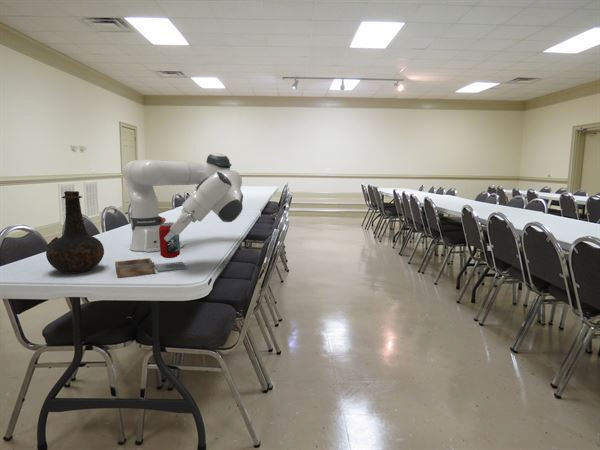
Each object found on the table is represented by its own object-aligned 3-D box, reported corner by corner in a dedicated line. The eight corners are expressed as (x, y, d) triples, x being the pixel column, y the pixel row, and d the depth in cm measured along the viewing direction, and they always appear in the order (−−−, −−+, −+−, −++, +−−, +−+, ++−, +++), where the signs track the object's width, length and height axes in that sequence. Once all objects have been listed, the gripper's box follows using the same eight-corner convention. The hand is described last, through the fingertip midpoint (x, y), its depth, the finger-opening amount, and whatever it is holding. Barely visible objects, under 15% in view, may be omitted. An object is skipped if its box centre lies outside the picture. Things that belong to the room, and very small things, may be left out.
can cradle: (150, 266, 148) (149, 256, 148) (154, 273, 138) (154, 262, 137) (115, 269, 143) (114, 259, 142) (117, 277, 133) (116, 266, 132)
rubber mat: (182, 263, 153) (181, 261, 152) (187, 268, 144) (187, 267, 144) (154, 266, 148) (154, 264, 148) (158, 272, 139) (158, 270, 139)
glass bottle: (58, 265, 150) (51, 190, 146) (110, 262, 154) (104, 189, 150) (39, 278, 132) (30, 193, 128) (98, 275, 136) (91, 191, 132)
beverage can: (174, 259, 142) (172, 225, 139) (156, 258, 143) (154, 225, 141) (183, 254, 148) (181, 222, 146) (166, 253, 150) (164, 221, 147)
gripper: (199, 219, 135) (170, 249, 135) (202, 212, 155) (177, 238, 155) (184, 206, 134) (155, 236, 133) (190, 201, 154) (164, 227, 153)
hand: (167, 237), depth 144 cm, fingers closed on beverage can, 7 cm apart
